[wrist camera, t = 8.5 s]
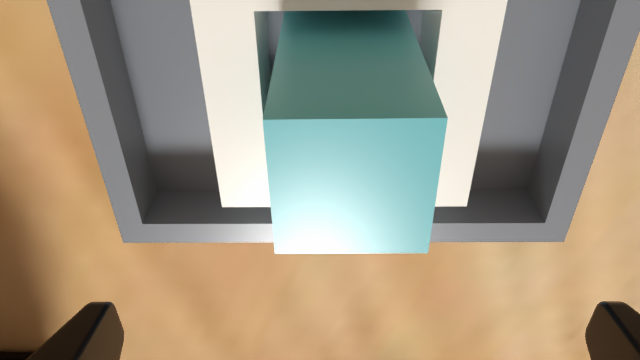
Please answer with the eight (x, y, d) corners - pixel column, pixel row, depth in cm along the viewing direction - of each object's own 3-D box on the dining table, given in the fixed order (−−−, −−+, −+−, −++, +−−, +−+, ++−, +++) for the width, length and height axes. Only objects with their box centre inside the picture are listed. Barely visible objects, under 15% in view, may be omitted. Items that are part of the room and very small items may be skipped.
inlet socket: (233, 161, 21) (221, 207, 19) (202, -77, 16) (180, -56, 14) (450, 160, 21) (466, 206, 19) (490, -80, 16) (519, -60, 14)
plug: (291, 109, 20) (274, 253, 14) (285, 5, 18) (262, 119, 11) (395, 108, 20) (428, 252, 13) (402, 3, 18) (448, 117, 11)
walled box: (141, 203, 23) (123, 242, 21) (15, -261, 14) (-40, -273, 12) (542, 202, 23) (563, 241, 21) (687, -271, 14) (752, -286, 12)
